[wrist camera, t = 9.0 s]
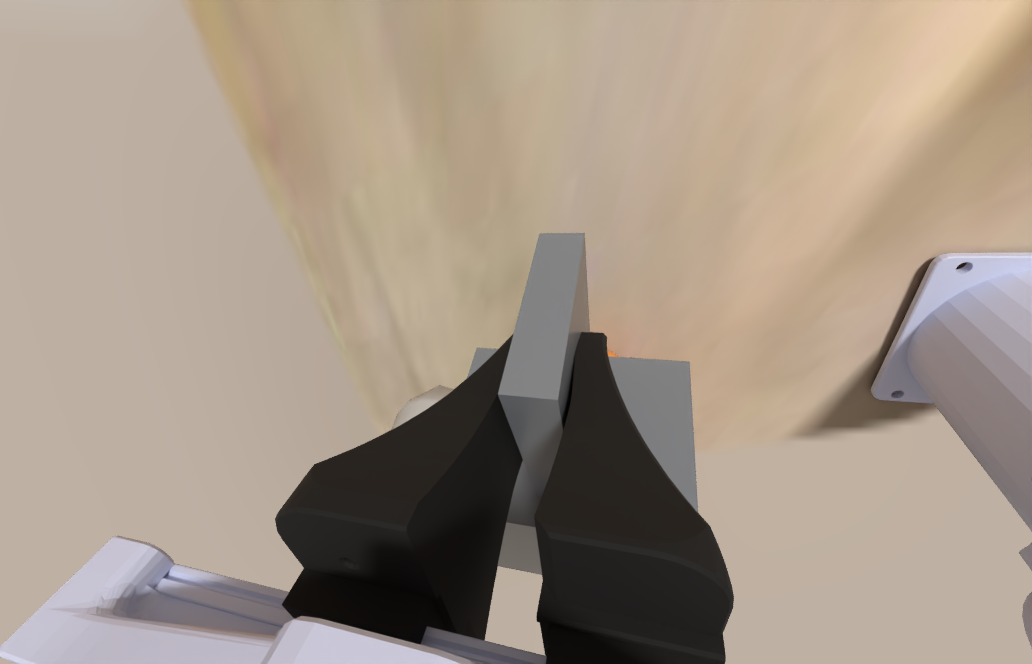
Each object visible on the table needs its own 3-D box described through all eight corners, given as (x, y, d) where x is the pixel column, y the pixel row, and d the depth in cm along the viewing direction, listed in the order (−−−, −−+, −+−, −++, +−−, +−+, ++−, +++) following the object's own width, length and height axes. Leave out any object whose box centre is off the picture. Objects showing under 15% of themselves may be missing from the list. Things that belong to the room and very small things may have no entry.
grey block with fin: (666, 453, 21) (668, 600, 17) (511, 435, 23) (483, 562, 19) (724, 221, 10) (762, 469, 7) (428, 225, 12) (330, 417, 9)
